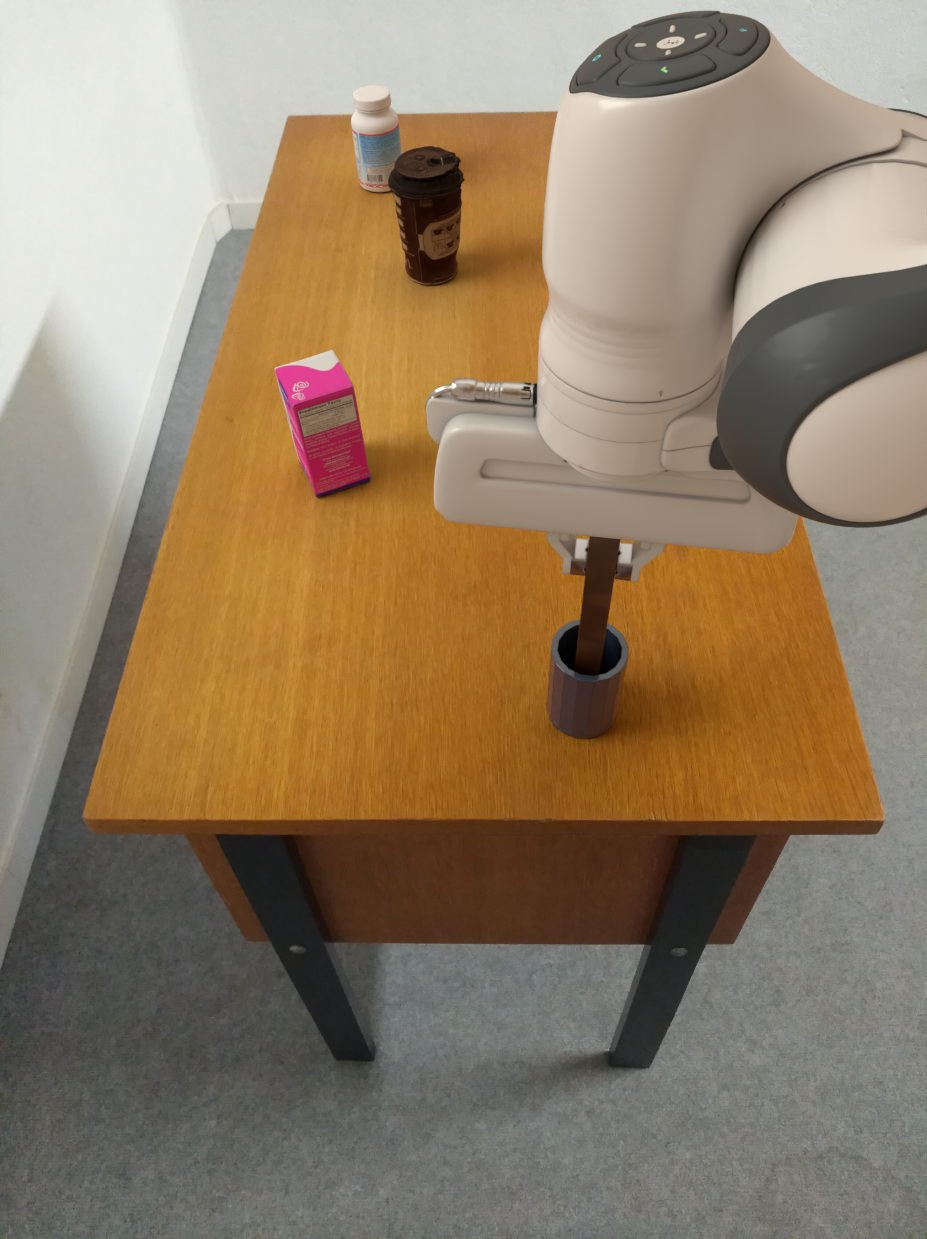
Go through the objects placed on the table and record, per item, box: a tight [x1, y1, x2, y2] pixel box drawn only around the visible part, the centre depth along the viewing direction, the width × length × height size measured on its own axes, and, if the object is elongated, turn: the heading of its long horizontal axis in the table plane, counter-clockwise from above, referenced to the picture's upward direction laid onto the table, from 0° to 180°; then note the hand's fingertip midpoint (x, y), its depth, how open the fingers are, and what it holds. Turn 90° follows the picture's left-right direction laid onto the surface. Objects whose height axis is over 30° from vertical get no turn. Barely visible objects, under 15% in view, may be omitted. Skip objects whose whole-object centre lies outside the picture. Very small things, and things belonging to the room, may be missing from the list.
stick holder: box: [546, 619, 630, 740], centre depth 66 cm, size 5×5×8 cm
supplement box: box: [273, 349, 372, 499], centre depth 82 cm, size 6×6×12 cm
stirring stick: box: [574, 536, 621, 676], centre depth 61 cm, size 2×2×20 cm
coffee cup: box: [388, 145, 466, 285], centre depth 101 cm, size 9×8×13 cm
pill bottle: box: [350, 84, 403, 193], centre depth 115 cm, size 6×6×11 cm
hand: (600, 570), depth 56 cm, fingers closed on stirring stick, 2 cm apart
